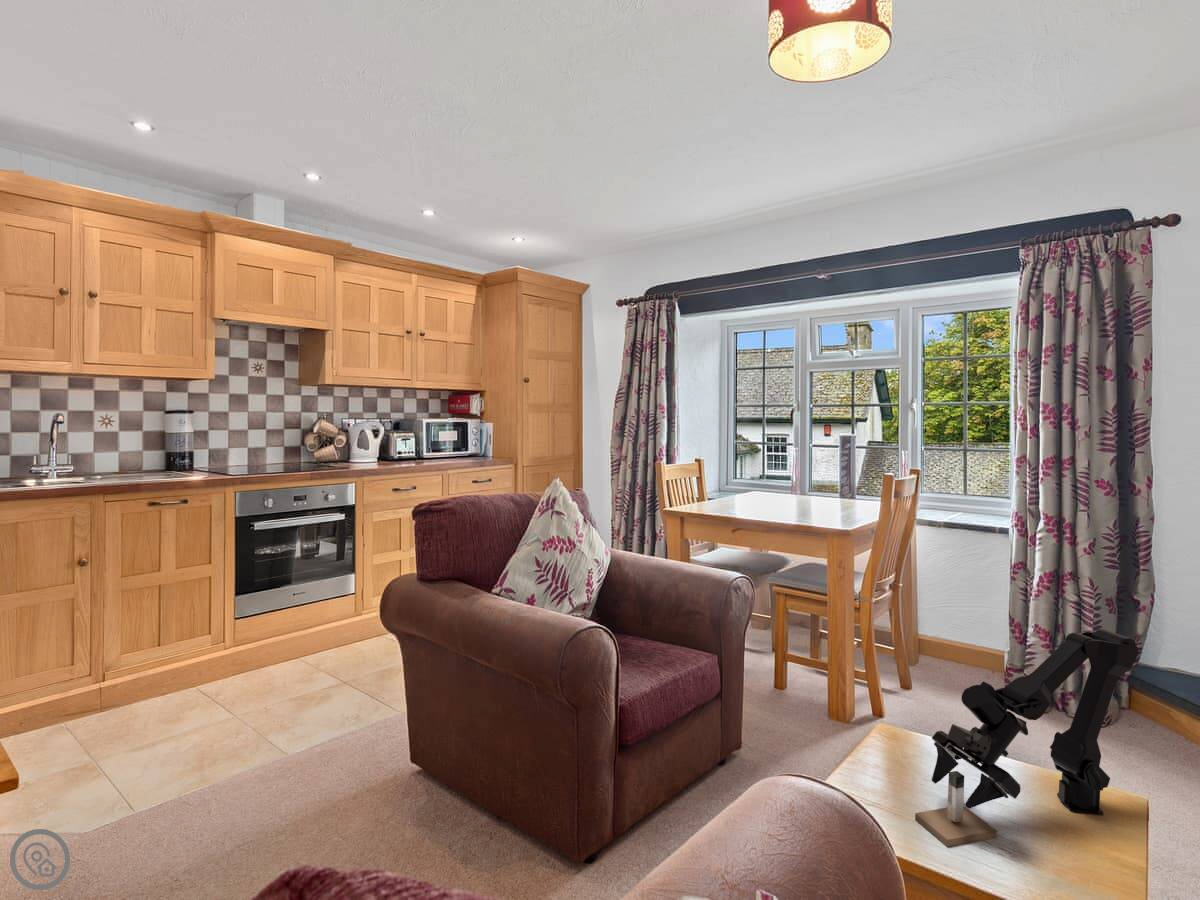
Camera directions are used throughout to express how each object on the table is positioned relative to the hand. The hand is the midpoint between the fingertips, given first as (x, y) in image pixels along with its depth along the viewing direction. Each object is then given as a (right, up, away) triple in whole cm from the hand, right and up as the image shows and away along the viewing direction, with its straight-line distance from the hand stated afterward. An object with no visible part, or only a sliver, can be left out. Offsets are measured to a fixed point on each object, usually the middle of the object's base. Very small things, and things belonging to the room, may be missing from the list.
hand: (949, 794), depth 138 cm
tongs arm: (+1, -5, 0) cm, 5 cm away
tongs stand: (+1, -7, 0) cm, 7 cm away
